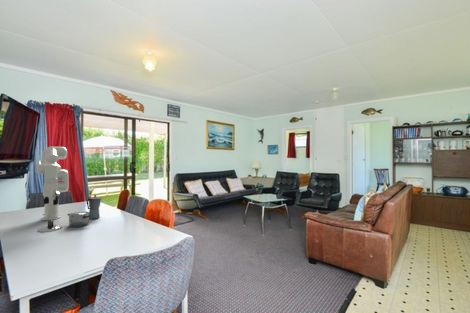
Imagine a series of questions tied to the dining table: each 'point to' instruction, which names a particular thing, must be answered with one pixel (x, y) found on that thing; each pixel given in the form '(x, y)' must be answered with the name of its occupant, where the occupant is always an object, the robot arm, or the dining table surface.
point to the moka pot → (94, 206)
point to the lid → (50, 227)
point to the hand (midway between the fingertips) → (51, 204)
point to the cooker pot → (78, 219)
